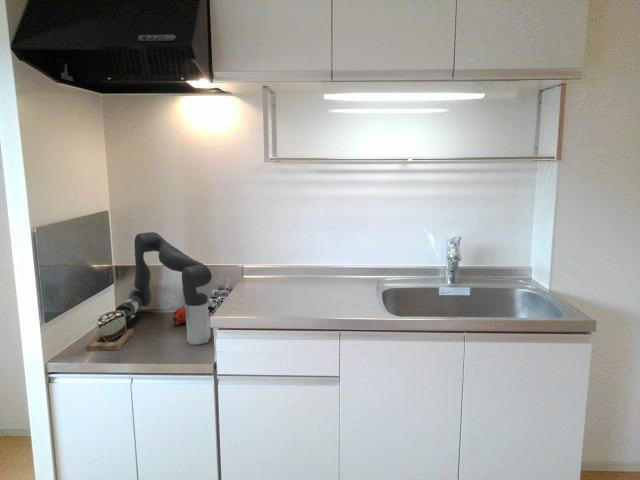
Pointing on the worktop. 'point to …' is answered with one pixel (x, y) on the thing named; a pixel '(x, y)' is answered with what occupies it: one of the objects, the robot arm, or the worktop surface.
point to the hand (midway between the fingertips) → (111, 323)
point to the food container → (112, 324)
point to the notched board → (99, 345)
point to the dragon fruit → (180, 316)
